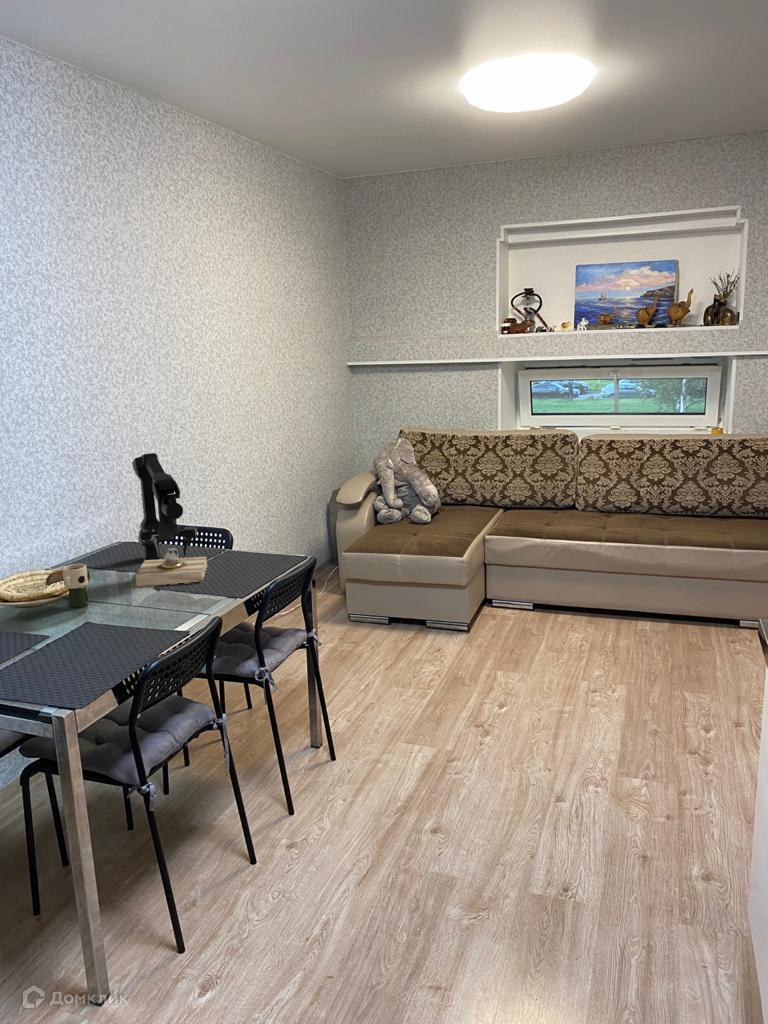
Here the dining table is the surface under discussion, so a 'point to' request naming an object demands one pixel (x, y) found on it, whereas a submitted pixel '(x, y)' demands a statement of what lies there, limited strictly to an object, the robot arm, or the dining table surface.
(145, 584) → the jig
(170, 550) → the silver and gold knob
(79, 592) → the character mug
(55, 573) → the tin
